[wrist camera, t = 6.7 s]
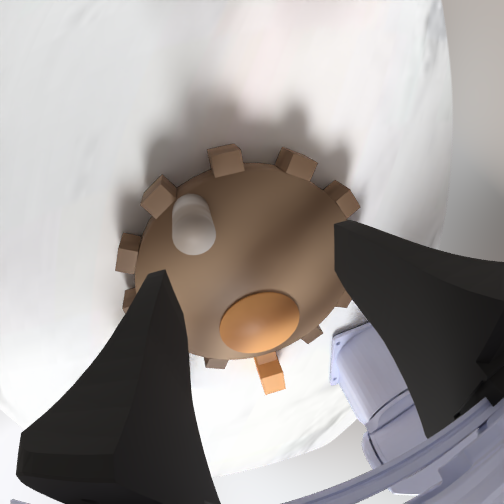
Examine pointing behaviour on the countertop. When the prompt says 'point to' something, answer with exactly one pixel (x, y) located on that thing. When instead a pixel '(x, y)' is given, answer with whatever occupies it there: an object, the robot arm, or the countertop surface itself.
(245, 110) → the countertop surface
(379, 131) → the countertop surface
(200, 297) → the brown gear wheel
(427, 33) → the countertop surface
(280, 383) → the block
